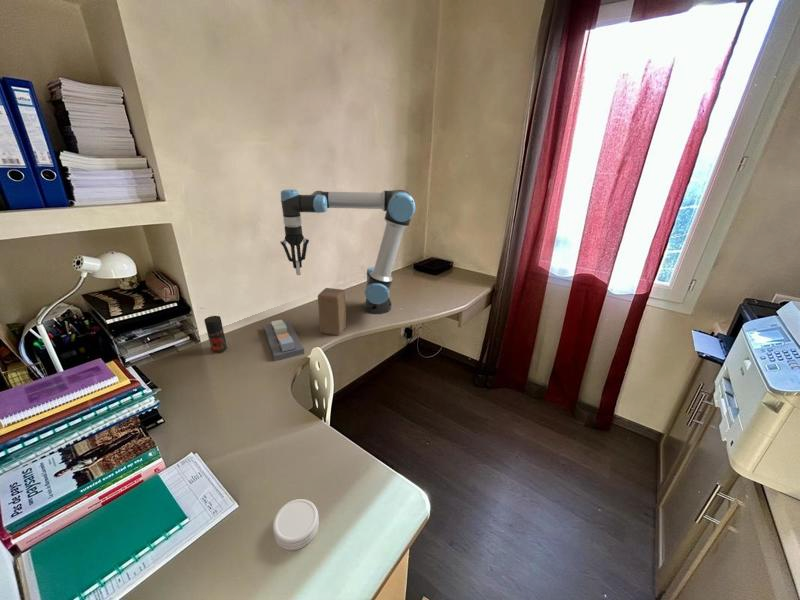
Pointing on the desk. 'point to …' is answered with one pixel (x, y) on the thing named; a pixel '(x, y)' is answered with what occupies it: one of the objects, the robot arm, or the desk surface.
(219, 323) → the deodorant
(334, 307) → the wooden block
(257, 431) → the desk surface
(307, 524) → the white round container
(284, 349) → the key slate
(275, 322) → the key grey
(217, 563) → the desk surface
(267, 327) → the keypad base
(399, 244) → the robot arm
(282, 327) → the key sage
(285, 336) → the key terracotta
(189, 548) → the desk surface
